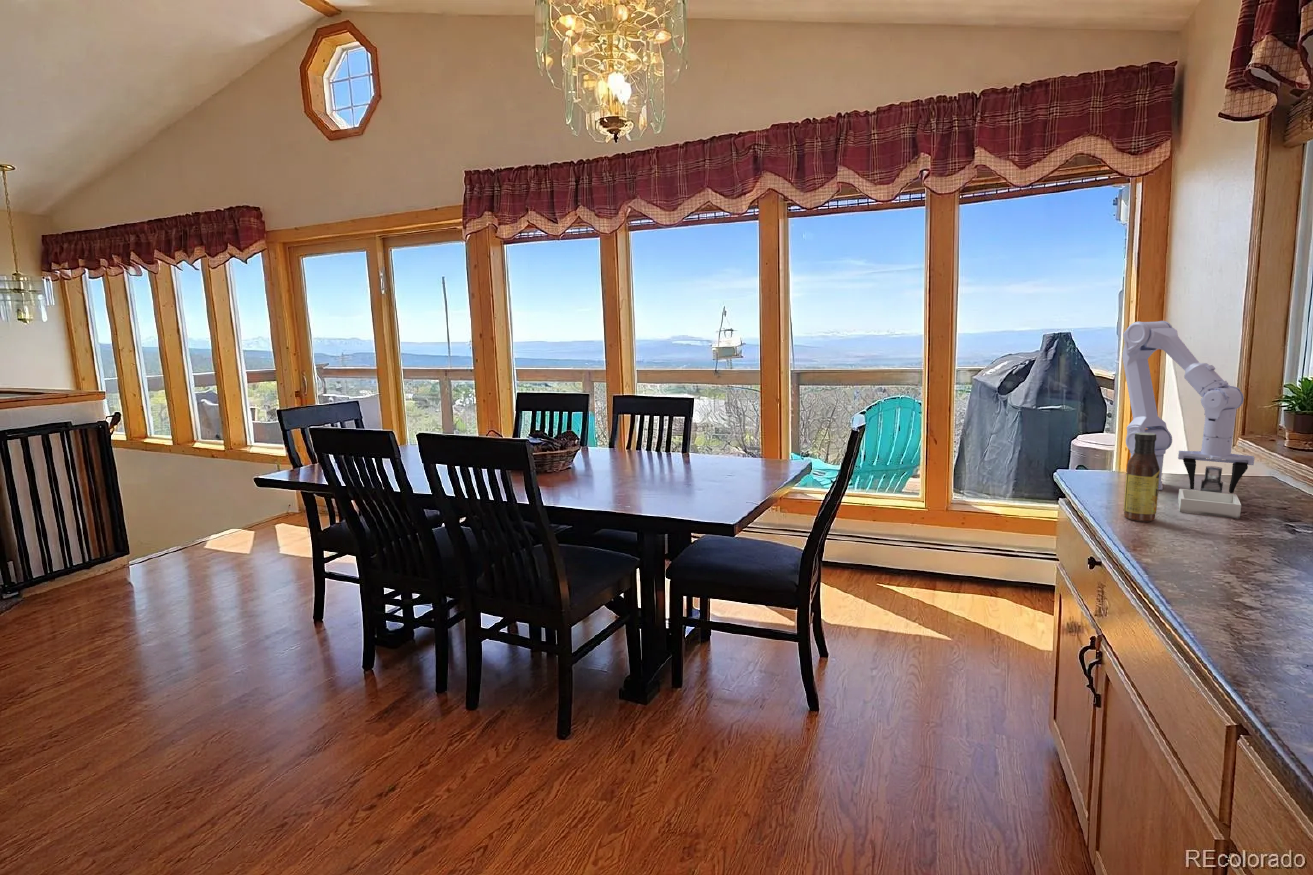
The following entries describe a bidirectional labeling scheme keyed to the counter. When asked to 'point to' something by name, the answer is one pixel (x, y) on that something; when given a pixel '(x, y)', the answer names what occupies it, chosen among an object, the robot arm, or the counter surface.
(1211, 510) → the bin
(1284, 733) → the counter surface
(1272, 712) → the counter surface
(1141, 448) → the sauce bottle
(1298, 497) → the counter surface
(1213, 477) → the silver metal knob
